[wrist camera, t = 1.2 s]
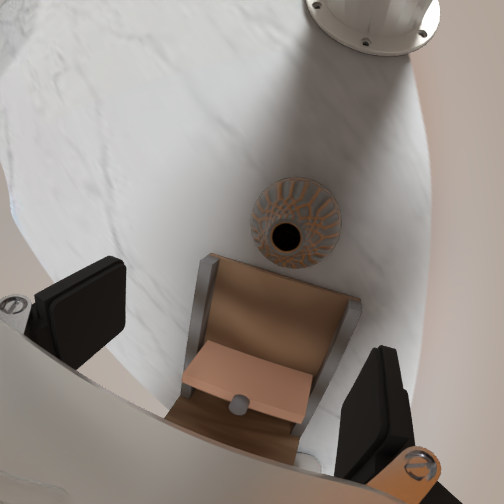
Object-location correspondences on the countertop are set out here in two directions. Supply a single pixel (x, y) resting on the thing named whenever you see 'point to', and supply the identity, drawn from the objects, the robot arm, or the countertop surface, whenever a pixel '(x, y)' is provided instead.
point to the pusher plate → (249, 382)
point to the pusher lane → (262, 348)
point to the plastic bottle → (307, 462)
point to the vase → (296, 222)
